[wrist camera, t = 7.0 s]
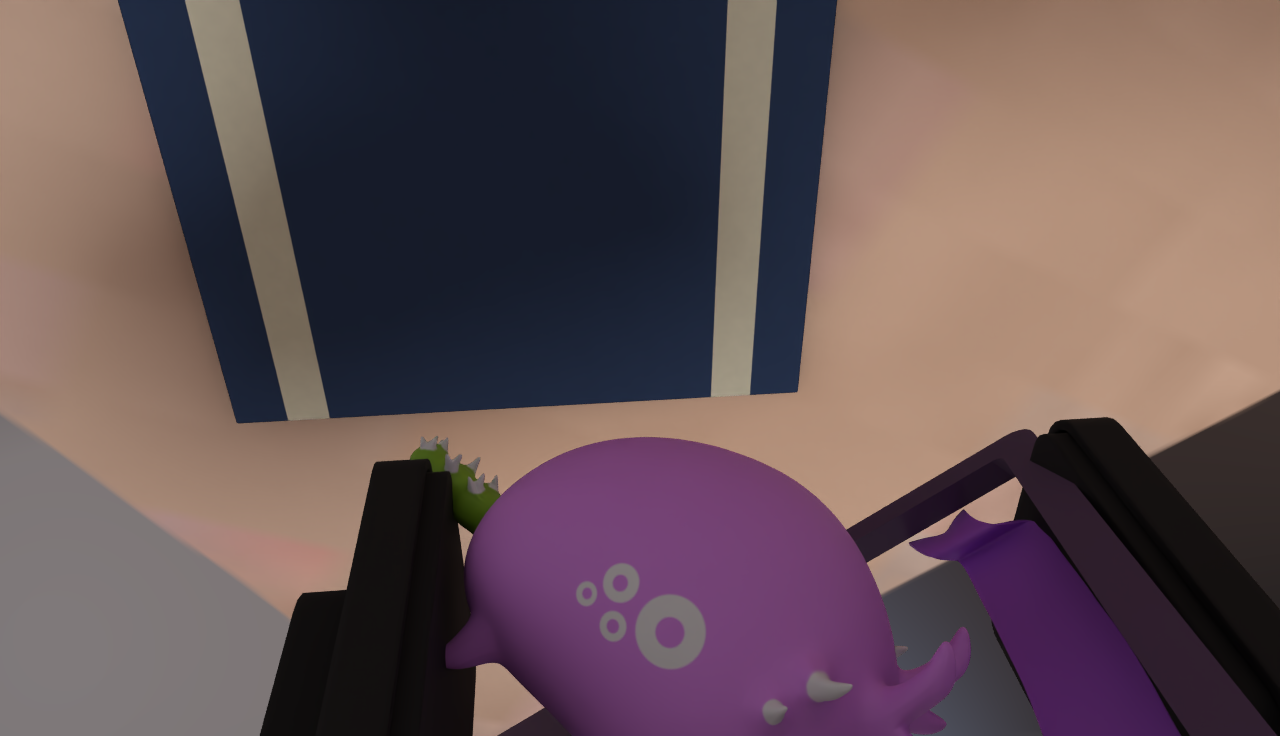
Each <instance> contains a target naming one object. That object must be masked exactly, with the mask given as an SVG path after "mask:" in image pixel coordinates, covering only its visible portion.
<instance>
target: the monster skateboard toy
mask: <svg viewBox="0 0 1280 736" xmlns="http://www.w3.org/2000/svg"><path fill="white" fill-rule="evenodd" d="M1036 439H1037V436H1036V435H1035V434H1034V433H1033V432H1032V431H1031V430H1027V429H1024V430H1018V431H1015V432H1012V433H1010V434H1008V435H1006V436H1004V437H1003V438H1001V439H999V440H998V441H996V442H994V443H993V444H991V445H989V446H987V447H986V448H984V449H982V450H981V451H979V452H977V453H976V454H974V455H972V456H971V457H969V458H967V459H965V460H964V461H962V462H960V463H959V464H957V465H955V466H954V467H952V468H950V469H948V470H947V471H945V472H943V473H942V474H940V475H938V476H937V477H935V478H933V479H932V480H930V481H928V482H926V483H925V484H923V485H921V486H920V487H918V488H916V489H915V490H913V491H911V492H910V493H908V494H906V495H904V496H903V497H901V498H899V499H898V500H896V501H894V502H893V503H891V504H889V505H887V506H886V507H884V508H882V509H881V510H879V511H877V512H876V513H874V514H872V515H871V516H869V517H867V518H865V519H864V520H862V521H860V522H859V523H857V524H855V525H854V526H852V527H850V528H849V529H847V530H846V529H845V528H844V526H843V525H842V524H841V522H840V521H839V520H838V519H837V518H836V516H835V515H834V514H833V513H832V512H831V511H830V510H829V509H828V508H827V507H826V506H825V505H824V504H823V503H822V502H821V501H820V500H819V499H818V498H817V497H816V496H815V495H813V494H812V493H811V492H810V491H808V490H807V489H806V488H805V487H803V486H802V485H801V484H799V483H798V482H796V481H795V480H793V479H792V478H790V477H788V476H787V475H785V474H783V473H782V472H780V471H778V470H776V469H774V468H772V467H770V466H768V465H766V464H764V463H761V462H759V461H757V460H754V459H752V458H749V457H747V456H744V455H741V454H738V453H735V452H732V451H729V450H726V449H723V448H720V447H716V446H712V445H708V444H703V443H698V442H693V441H687V440H681V439H672V438H658V437H636V438H623V439H614V440H608V441H602V442H598V443H593V444H590V445H586V446H583V447H580V448H576V449H574V450H571V451H568V452H566V453H563V454H561V455H559V456H557V457H555V458H553V459H551V460H549V461H547V462H545V463H543V464H541V465H540V466H538V467H536V468H535V469H533V470H532V471H530V472H529V473H527V474H526V475H525V476H523V477H522V478H521V479H519V480H518V481H517V482H515V483H514V484H513V485H512V486H511V487H510V488H508V489H507V490H506V491H505V492H504V493H503V494H502V495H500V494H499V491H498V477H497V475H496V476H495V477H494V479H493V480H492V482H491V483H484V478H485V475H484V473H483V474H482V475H481V476H480V477H479V479H478V480H477V479H476V478H475V473H476V470H477V467H478V464H479V461H480V457H478V458H477V459H476V460H474V461H473V462H472V463H470V464H468V465H463V464H460V461H461V458H462V455H461V454H460V455H458V456H457V457H456V458H455V459H453V460H451V459H450V457H449V455H448V438H446V439H445V440H444V441H443V440H441V441H440V442H439V444H437V440H438V436H436V437H435V438H433V439H432V440H431V441H429V442H427V441H426V440H425V439H424V437H421V446H420V447H419V448H418V449H416V450H415V451H414V452H413V454H412V455H411V458H410V460H414V459H429V460H430V463H431V466H432V471H433V472H441V471H449V472H450V474H451V478H452V492H453V514H454V519H455V520H456V521H457V522H458V523H459V524H460V525H461V526H463V527H464V528H465V529H467V530H468V531H470V532H471V533H472V534H473V537H472V539H471V542H470V544H469V547H468V551H467V555H466V559H465V565H464V587H465V594H466V599H467V603H468V606H469V609H470V612H471V615H470V618H469V620H468V622H467V623H466V624H465V626H464V627H463V628H462V629H461V630H460V631H459V632H458V634H457V635H456V636H455V637H454V638H453V639H452V640H451V641H449V642H448V643H447V644H446V651H445V661H446V668H448V669H464V668H470V667H474V666H478V665H481V664H486V663H498V664H501V665H502V666H504V667H505V668H506V669H507V670H508V671H509V672H510V673H511V674H512V675H513V676H514V677H515V678H516V679H517V680H518V681H519V682H520V683H521V684H522V685H523V686H524V687H525V688H526V689H527V690H528V691H529V692H530V693H531V694H532V695H533V696H534V697H535V698H536V699H537V700H538V701H539V702H540V703H541V704H542V705H543V706H544V707H545V708H544V709H542V710H540V711H538V712H537V713H535V714H533V715H532V716H530V717H528V718H527V719H525V720H523V721H521V722H520V723H518V724H516V725H515V726H513V727H511V728H510V729H508V730H506V731H505V732H503V733H501V734H499V735H498V736H912V734H911V733H914V734H923V735H925V734H933V733H937V732H939V731H941V730H943V729H944V728H945V726H946V722H945V721H944V720H943V719H942V718H940V717H939V716H937V715H936V714H934V713H933V712H931V711H930V709H931V708H932V707H934V706H935V705H937V704H938V703H939V702H941V701H942V700H943V699H944V698H945V697H946V696H947V695H948V694H949V693H950V691H951V690H952V688H953V685H954V683H955V682H956V681H957V680H958V679H959V678H960V677H961V676H962V675H963V674H964V673H965V671H966V669H967V667H968V665H969V661H970V656H971V655H970V654H971V644H970V638H969V634H968V632H967V629H966V628H964V627H961V628H960V629H959V630H958V631H957V632H956V634H955V635H954V637H953V638H952V640H951V641H950V643H949V642H943V643H942V644H941V645H940V647H939V648H938V650H937V651H936V653H935V654H934V656H933V657H932V659H931V660H930V661H929V662H928V663H926V664H924V665H922V666H920V667H918V668H915V669H912V670H902V669H900V668H899V667H898V665H897V660H896V658H897V657H899V656H900V655H902V654H903V653H904V652H906V650H907V649H908V647H904V646H894V641H893V636H892V631H891V627H890V623H889V619H888V616H887V612H886V609H885V606H884V603H883V600H882V597H881V595H880V592H879V589H878V587H877V585H876V582H875V580H874V578H873V575H872V573H871V571H870V569H869V567H868V565H867V562H869V561H870V560H872V559H874V558H875V557H877V556H879V555H881V554H882V553H884V552H886V551H888V550H889V549H891V548H893V547H895V546H896V545H898V544H900V543H901V542H903V541H905V540H907V539H908V538H910V537H912V536H914V535H915V534H917V533H919V532H921V531H922V530H924V529H926V528H928V527H929V526H931V525H933V524H934V523H936V522H938V521H940V520H941V519H943V518H945V517H947V516H948V515H950V514H952V513H954V512H955V511H957V510H959V509H960V508H962V507H964V506H966V505H967V504H969V503H971V502H973V501H974V500H976V499H978V498H980V497H981V496H983V495H985V494H986V493H988V492H990V491H992V490H993V489H995V488H997V487H999V486H1000V485H1002V484H1004V483H1006V482H1007V481H1009V480H1011V479H1012V478H1014V477H1016V478H1017V479H1018V481H1019V482H1020V484H1021V485H1022V487H1023V488H1024V490H1025V491H1026V493H1027V494H1028V496H1029V497H1030V499H1031V500H1032V502H1033V503H1034V505H1035V506H1036V507H1037V509H1038V510H1039V512H1040V513H1041V515H1042V516H1043V518H1044V519H1045V521H1046V522H1047V524H1048V525H1049V527H1050V528H1051V530H1052V531H1053V533H1054V534H1055V536H1056V537H1057V539H1058V540H1059V542H1060V543H1061V545H1062V546H1063V548H1064V549H1065V551H1066V552H1067V554H1068V555H1069V557H1070V558H1071V560H1072V561H1073V562H1074V564H1075V565H1076V567H1077V568H1078V570H1079V571H1080V573H1081V574H1082V576H1083V577H1084V579H1085V580H1086V582H1087V583H1088V585H1089V586H1090V588H1091V589H1092V591H1093V592H1094V594H1095V595H1096V597H1097V598H1098V600H1099V601H1100V603H1101V604H1102V606H1103V607H1104V609H1105V610H1106V612H1107V613H1108V614H1109V616H1110V617H1111V618H1110V617H1109V616H1108V614H1107V613H1106V612H1105V610H1104V609H1103V608H1102V606H1101V605H1100V604H1099V602H1098V601H1097V600H1096V598H1095V597H1094V595H1093V594H1092V593H1091V591H1090V590H1089V588H1088V587H1087V586H1086V584H1085V583H1084V581H1083V580H1082V579H1081V577H1080V576H1079V575H1078V573H1077V572H1076V571H1075V569H1074V568H1073V567H1072V566H1071V564H1070V563H1069V562H1068V560H1067V559H1066V558H1065V556H1064V555H1063V554H1062V552H1061V551H1060V550H1059V548H1058V547H1057V546H1056V544H1055V543H1054V541H1053V540H1052V539H1051V538H1050V537H1049V536H1048V535H1047V534H1046V533H1044V532H1043V531H1042V530H1041V529H1040V528H1039V527H1038V525H1037V524H1036V523H1035V522H1034V521H1030V520H1014V521H1009V522H1004V523H998V524H989V523H984V522H981V521H978V520H976V519H974V518H973V517H971V516H970V515H969V514H968V513H967V512H966V511H965V510H964V509H963V510H962V511H961V512H960V513H959V514H958V515H957V516H956V518H955V519H954V520H953V522H952V524H951V525H950V527H949V529H948V530H947V531H946V532H945V533H943V534H941V535H938V536H933V537H928V538H923V539H919V540H916V541H912V542H909V544H910V546H911V547H913V548H914V549H915V550H917V551H918V552H920V553H922V554H924V555H926V556H929V557H933V558H936V559H940V560H955V561H958V562H960V563H961V564H962V566H963V567H964V568H965V570H966V572H967V573H968V575H969V577H970V578H971V581H972V583H973V585H974V587H975V589H976V591H977V593H978V595H979V597H980V599H981V601H982V602H983V605H984V606H985V608H986V610H987V612H988V614H989V616H990V618H991V620H992V622H993V624H994V626H995V628H996V630H997V632H998V634H999V636H1000V638H1001V640H1002V642H1003V644H1004V646H1005V648H1006V650H1007V652H1008V654H1009V656H1010V658H1011V660H1012V662H1013V664H1014V666H1015V668H1016V671H1017V673H1018V675H1019V677H1020V679H1021V681H1022V683H1023V686H1024V688H1025V690H1026V692H1027V695H1028V697H1029V700H1030V702H1031V705H1032V707H1033V710H1034V712H1035V715H1036V717H1037V720H1038V723H1039V726H1040V728H1041V731H1042V734H1043V736H1181V734H1180V733H1179V731H1178V729H1177V727H1176V726H1175V724H1174V722H1173V720H1172V719H1171V717H1170V715H1169V713H1168V711H1167V709H1166V708H1165V706H1164V704H1163V702H1162V700H1161V699H1160V697H1159V695H1158V693H1157V691H1156V689H1155V688H1154V686H1153V684H1152V682H1151V681H1150V679H1149V677H1148V675H1147V674H1146V672H1145V670H1144V668H1145V669H1146V671H1147V672H1148V674H1149V675H1150V677H1151V678H1152V680H1153V681H1154V683H1155V684H1156V686H1157V687H1158V689H1159V690H1160V692H1161V693H1162V695H1163V696H1164V698H1165V699H1166V701H1167V702H1168V704H1169V705H1170V707H1171V708H1172V710H1173V711H1174V713H1175V714H1176V716H1177V717H1178V719H1179V720H1180V722H1181V723H1182V724H1183V726H1184V727H1185V729H1186V730H1187V732H1188V733H1189V735H1190V736H1277V735H1276V734H1275V732H1274V731H1273V730H1272V729H1271V727H1270V726H1269V725H1268V724H1267V722H1266V721H1265V720H1264V719H1263V717H1262V716H1261V715H1260V714H1259V712H1258V711H1257V710H1256V709H1255V707H1254V706H1253V705H1252V704H1251V702H1250V701H1249V700H1248V699H1247V698H1246V696H1245V695H1244V694H1243V693H1242V691H1241V690H1240V689H1239V688H1238V686H1237V685H1236V684H1235V683H1234V681H1233V680H1232V679H1231V678H1230V676H1229V675H1228V674H1227V673H1226V671H1225V670H1224V669H1223V668H1222V666H1221V665H1220V664H1219V663H1218V661H1217V660H1216V659H1215V658H1214V656H1213V655H1212V654H1211V653H1210V652H1209V650H1208V649H1207V648H1206V647H1205V645H1204V644H1203V643H1202V642H1201V640H1200V639H1199V638H1198V637H1197V635H1196V634H1195V633H1194V632H1193V630H1192V629H1191V628H1190V627H1189V625H1188V624H1187V623H1186V622H1185V620H1184V619H1183V618H1182V617H1181V615H1180V614H1179V613H1178V612H1177V610H1176V609H1175V608H1174V607H1173V606H1172V604H1171V603H1170V602H1169V601H1168V599H1167V598H1166V597H1165V596H1164V594H1163V593H1162V592H1161V591H1160V589H1159V588H1158V587H1157V586H1156V584H1155V583H1154V582H1153V581H1152V579H1151V578H1150V577H1149V576H1148V574H1147V573H1146V572H1145V571H1144V569H1143V568H1142V567H1141V566H1140V564H1139V563H1138V562H1137V561H1136V560H1135V558H1134V557H1133V556H1132V555H1131V553H1130V552H1129V551H1128V550H1127V548H1126V547H1125V546H1124V545H1123V543H1122V542H1121V541H1120V540H1119V538H1118V537H1117V536H1116V535H1115V533H1114V532H1113V531H1112V530H1111V528H1110V527H1109V526H1108V525H1107V523H1106V522H1105V521H1104V520H1103V518H1102V517H1101V516H1100V515H1099V514H1098V512H1097V511H1096V510H1095V509H1094V507H1093V506H1092V505H1091V504H1090V502H1089V501H1088V500H1087V499H1086V497H1085V496H1084V495H1083V494H1082V492H1081V491H1080V490H1079V489H1078V487H1077V486H1076V485H1075V484H1074V483H1072V482H1070V481H1068V480H1066V479H1064V478H1063V477H1061V476H1059V475H1057V474H1055V473H1053V472H1051V471H1049V470H1047V469H1045V468H1043V467H1041V466H1039V465H1038V464H1036V463H1034V462H1032V461H1030V458H1031V454H1032V451H1033V447H1034V444H1035V441H1036ZM1111 619H1112V620H1113V621H1112V620H1111ZM1113 622H1114V623H1115V624H1114V623H1113ZM1116 626H1117V627H1116ZM1118 629H1119V630H1118ZM1132 650H1133V651H1132ZM1134 653H1135V654H1134ZM1136 656H1137V657H1136ZM1137 658H1138V659H1139V660H1138V659H1137ZM1139 661H1140V662H1141V663H1140V662H1139ZM1141 664H1142V665H1143V667H1144V668H1143V667H1142V665H1141Z"/></svg>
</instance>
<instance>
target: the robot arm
mask: <svg viewBox="0 0 1280 736" xmlns="http://www.w3.org/2000/svg"><path fill="white" fill-rule="evenodd" d="M1030 461H1032V462H1034V463H1036V464H1038V465H1039V466H1041V467H1043V468H1045V469H1047V470H1049V471H1051V472H1053V473H1055V474H1057V475H1059V476H1061V477H1063V478H1064V479H1066V480H1068V481H1070V482H1072V483H1074V484H1075V485H1076V486H1077V487H1078V489H1079V490H1080V491H1081V492H1082V494H1083V495H1084V496H1085V497H1086V499H1087V500H1088V501H1089V502H1090V504H1091V505H1092V506H1093V507H1094V509H1095V510H1096V511H1097V512H1098V514H1099V515H1100V516H1101V517H1102V518H1103V520H1104V521H1105V522H1106V523H1107V525H1108V526H1109V527H1110V528H1111V530H1112V531H1113V532H1114V533H1115V535H1116V536H1117V537H1118V538H1119V540H1120V541H1121V542H1122V543H1123V545H1124V546H1125V547H1126V548H1127V550H1128V551H1129V552H1130V553H1131V555H1132V556H1133V557H1134V558H1135V560H1136V561H1137V562H1138V563H1139V564H1140V566H1141V567H1142V568H1143V569H1144V571H1145V572H1146V573H1147V574H1148V576H1149V577H1150V578H1151V579H1152V581H1153V582H1154V583H1155V584H1156V586H1157V587H1158V588H1159V589H1160V591H1161V592H1162V593H1163V594H1164V596H1165V597H1166V598H1167V599H1168V601H1169V602H1170V603H1171V604H1172V606H1173V607H1174V608H1175V609H1176V610H1177V612H1178V613H1179V614H1180V615H1181V617H1182V618H1183V619H1184V620H1185V622H1186V623H1187V624H1188V625H1189V627H1190V628H1191V629H1192V630H1193V632H1194V633H1195V634H1196V635H1197V637H1198V638H1199V639H1200V640H1201V642H1202V643H1203V644H1204V645H1205V647H1206V648H1207V649H1208V650H1209V652H1210V653H1211V654H1212V655H1213V656H1214V658H1215V659H1216V660H1217V661H1218V663H1219V664H1220V665H1221V666H1222V668H1223V669H1224V670H1225V671H1226V673H1227V674H1228V675H1229V676H1230V678H1231V679H1232V680H1233V681H1234V683H1235V684H1236V685H1237V686H1238V688H1239V689H1240V690H1241V691H1242V693H1243V694H1244V695H1245V696H1246V698H1247V699H1248V700H1249V701H1250V702H1251V704H1252V705H1253V706H1254V707H1255V709H1256V710H1257V711H1258V712H1259V714H1260V715H1261V716H1262V717H1263V719H1264V720H1265V721H1266V722H1267V724H1268V725H1269V726H1270V727H1271V729H1272V730H1273V731H1274V732H1275V734H1276V735H1277V736H1280V609H1279V608H1278V607H1277V606H1276V605H1275V603H1274V602H1273V601H1272V600H1271V599H1270V598H1269V596H1268V595H1267V594H1266V593H1265V592H1264V591H1263V589H1262V588H1261V587H1260V586H1259V585H1258V584H1257V582H1256V581H1255V580H1254V579H1253V578H1252V577H1251V576H1250V574H1249V573H1248V572H1247V571H1246V570H1245V569H1244V567H1243V566H1242V565H1241V564H1240V563H1239V562H1238V560H1237V559H1236V558H1235V557H1234V556H1233V555H1232V554H1231V552H1230V551H1229V550H1228V549H1227V548H1226V547H1225V545H1224V544H1223V543H1222V542H1221V541H1220V540H1219V539H1218V537H1217V536H1216V535H1215V534H1214V533H1213V531H1212V530H1211V529H1210V528H1209V527H1208V526H1207V524H1206V523H1205V522H1204V521H1203V520H1202V519H1201V518H1200V516H1199V515H1198V514H1197V513H1196V512H1195V511H1194V509H1193V508H1192V507H1191V506H1190V505H1189V504H1188V502H1187V501H1186V500H1185V499H1184V498H1183V497H1182V495H1181V494H1180V493H1179V492H1178V491H1177V490H1176V488H1174V486H1173V485H1172V484H1171V483H1170V482H1169V480H1168V479H1167V478H1166V477H1165V476H1164V475H1163V474H1162V472H1161V471H1160V470H1159V469H1158V468H1157V466H1156V465H1155V464H1154V463H1153V462H1152V461H1151V459H1150V458H1149V457H1148V456H1147V455H1146V454H1145V453H1144V451H1143V450H1142V449H1141V448H1140V447H1139V446H1138V444H1137V443H1136V442H1135V441H1134V440H1133V439H1132V437H1131V436H1130V435H1129V434H1128V433H1127V432H1126V430H1125V429H1124V428H1123V427H1122V426H1121V425H1120V424H1119V423H1118V422H1117V421H1116V420H1114V419H1112V418H1108V417H1103V418H1087V419H1070V420H1060V421H1057V422H1055V423H1054V424H1053V425H1052V426H1051V428H1050V430H1049V433H1048V434H1043V435H1040V436H1039V437H1038V438H1037V439H1036V441H1035V444H1034V447H1033V451H1032V454H1031V458H1030ZM1014 520H1030V521H1034V522H1035V523H1036V524H1037V525H1038V527H1039V528H1040V529H1041V530H1042V531H1043V532H1044V533H1046V534H1047V535H1048V536H1049V537H1050V538H1051V539H1052V540H1053V541H1054V543H1055V544H1056V546H1057V547H1058V548H1059V550H1060V551H1061V552H1062V554H1063V555H1064V556H1065V558H1066V559H1067V560H1068V562H1069V563H1070V564H1071V566H1072V567H1073V568H1074V569H1075V571H1076V572H1077V573H1078V575H1079V576H1080V577H1081V579H1082V580H1083V581H1084V583H1085V584H1086V586H1087V587H1088V588H1089V590H1090V591H1091V593H1092V594H1093V595H1094V597H1095V598H1096V600H1097V601H1098V602H1099V604H1100V605H1101V606H1102V604H1101V603H1100V601H1099V600H1098V598H1097V597H1096V595H1095V594H1094V592H1093V591H1092V589H1091V588H1090V586H1089V585H1088V583H1087V582H1086V580H1085V579H1084V577H1083V576H1082V574H1081V573H1080V571H1079V570H1078V568H1077V567H1076V565H1075V564H1074V562H1073V561H1072V560H1071V558H1070V557H1069V555H1068V554H1067V552H1066V551H1065V549H1064V548H1063V546H1062V545H1061V543H1060V542H1059V540H1058V539H1057V537H1056V536H1055V534H1054V533H1053V531H1052V530H1051V528H1050V527H1049V525H1048V524H1047V522H1046V521H1045V519H1044V518H1043V516H1042V515H1041V513H1040V512H1039V510H1038V509H1037V507H1036V506H1035V505H1034V503H1033V502H1032V500H1031V499H1030V497H1029V496H1028V494H1027V493H1026V491H1025V490H1024V488H1022V492H1021V495H1020V499H1019V503H1018V507H1017V510H1016V514H1015V518H1014ZM1102 608H1103V609H1104V607H1103V606H1102ZM1104 610H1105V609H1104ZM1105 612H1106V610H1105ZM1106 613H1107V612H1106ZM1107 614H1108V613H1107ZM470 615H471V614H470V609H469V606H468V603H467V599H466V594H465V587H464V564H463V556H462V549H461V542H460V535H459V527H458V522H457V521H456V520H455V519H454V514H453V492H452V478H451V474H450V472H449V471H441V472H433V471H432V466H431V463H430V460H429V459H414V460H397V461H381V462H376V463H375V464H374V466H373V470H372V474H371V478H370V483H369V488H368V492H367V497H366V502H365V506H364V511H363V516H362V520H361V525H360V530H359V534H358V539H357V544H356V548H355V553H354V558H353V562H352V567H351V572H350V576H349V581H348V586H347V590H339V591H325V592H311V593H303V594H302V595H301V596H300V597H299V599H298V600H297V603H296V606H295V608H294V611H293V614H292V618H291V622H290V625H289V630H288V633H287V637H286V640H285V644H284V648H283V651H282V655H281V659H280V663H279V666H278V670H277V674H276V677H275V681H274V685H273V689H272V692H271V696H270V700H269V703H268V707H267V711H266V714H265V718H264V722H263V726H262V729H261V733H260V736H472V735H473V718H474V700H475V682H476V666H474V667H470V668H464V669H448V668H446V661H445V651H446V644H447V643H448V642H449V641H451V640H452V639H453V638H454V637H455V636H456V635H457V634H458V632H459V631H460V630H461V629H462V628H463V627H464V626H465V624H466V623H467V622H468V620H469V618H470ZM1108 616H1109V614H1108ZM1109 617H1110V616H1109ZM1110 618H1111V617H1110ZM1111 620H1112V619H1111ZM1112 621H1113V620H1112ZM1113 623H1114V622H1113ZM1114 624H1115V623H1114ZM992 626H993V630H994V634H995V636H996V638H997V640H998V642H999V644H1000V646H1001V648H1002V650H1003V652H1004V654H1005V656H1006V658H1007V660H1008V662H1009V664H1010V666H1011V667H1012V669H1013V671H1014V673H1015V675H1016V677H1017V679H1018V681H1019V683H1020V685H1021V687H1022V689H1023V691H1024V693H1025V694H1026V696H1027V698H1028V700H1029V697H1028V695H1027V692H1026V690H1025V688H1024V686H1023V683H1022V681H1021V679H1020V677H1019V675H1018V673H1017V671H1016V668H1015V666H1014V664H1013V662H1012V660H1011V658H1010V656H1009V654H1008V652H1007V650H1006V648H1005V646H1004V644H1003V642H1002V640H1001V638H1000V636H999V634H998V632H997V630H996V628H995V626H994V624H993V622H992ZM1116 627H1117V626H1116ZM1118 630H1119V629H1118ZM1132 651H1133V650H1132ZM1134 654H1135V653H1134ZM1136 657H1137V656H1136ZM1137 659H1138V658H1137ZM1138 660H1139V659H1138ZM1139 662H1140V661H1139ZM1140 663H1141V662H1140ZM1141 665H1142V664H1141ZM1142 667H1143V665H1142ZM1143 668H1144V667H1143ZM1144 670H1145V672H1146V674H1147V675H1148V677H1149V679H1150V681H1151V682H1152V684H1153V686H1154V688H1155V689H1156V691H1157V693H1158V695H1159V697H1160V699H1161V700H1162V702H1163V704H1164V706H1165V708H1166V709H1167V711H1168V713H1169V715H1170V717H1171V719H1172V720H1173V722H1174V724H1175V726H1176V727H1177V729H1178V731H1179V733H1180V734H1181V736H1190V735H1189V733H1188V732H1187V730H1186V729H1185V727H1184V726H1183V724H1182V723H1181V722H1180V720H1179V719H1178V717H1177V716H1176V714H1175V713H1174V711H1173V710H1172V708H1171V707H1170V705H1169V704H1168V702H1167V701H1166V699H1165V698H1164V696H1163V695H1162V693H1161V692H1160V690H1159V689H1158V687H1157V686H1156V684H1155V683H1154V681H1153V680H1152V678H1151V677H1150V675H1149V674H1148V672H1147V671H1146V669H1145V668H1144ZM1029 702H1030V700H1029ZM1030 704H1031V702H1030ZM1031 706H1032V705H1031ZM1032 708H1033V707H1032Z"/></svg>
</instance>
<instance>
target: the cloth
mask: <svg viewBox="0 0 1280 736" xmlns="http://www.w3.org/2000/svg"><path fill="white" fill-rule="evenodd" d="M118 3H119V6H120V10H121V13H122V17H123V21H124V24H125V28H126V31H127V35H128V38H129V42H130V45H131V49H132V52H133V56H134V60H135V63H136V67H137V70H138V74H139V77H140V81H141V84H142V88H143V92H144V95H145V99H146V102H147V106H148V109H149V113H150V116H151V120H152V124H153V127H154V131H155V134H156V138H157V141H158V145H159V148H160V152H161V155H162V159H163V163H164V166H165V170H166V173H167V177H168V180H169V184H170V187H171V191H172V195H173V198H174V202H175V205H176V209H177V212H178V216H179V219H180V223H181V227H182V230H183V234H184V237H185V241H186V244H187V248H188V251H189V255H190V258H191V262H192V266H193V269H194V273H195V276H196V280H197V283H198V287H199V290H200V294H201V298H202V301H203V305H204V308H205V312H206V315H207V319H208V322H209V326H210V330H211V333H212V337H213V340H214V344H215V347H216V351H217V354H218V358H219V361H220V365H221V369H222V372H223V376H224V379H225V383H226V386H227V390H228V393H229V397H230V401H231V404H232V408H233V411H234V415H235V418H236V422H237V423H253V422H271V421H293V420H311V419H329V418H343V417H361V416H379V415H397V414H415V413H433V412H451V411H469V410H487V409H505V408H523V407H541V406H559V405H577V404H595V403H613V402H631V401H649V400H667V399H684V398H702V397H723V396H741V395H756V394H774V393H792V392H797V391H798V383H799V373H800V363H801V353H802V343H803V333H804V323H805V313H806V304H807V294H808V284H809V274H810V264H811V254H812V244H813V234H814V224H815V214H816V204H817V194H818V184H819V174H820V165H821V155H822V145H823V135H824V125H825V115H826V105H827V95H828V85H829V75H830V65H831V55H832V45H833V35H834V26H835V16H836V6H837V0H118Z"/></svg>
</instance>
